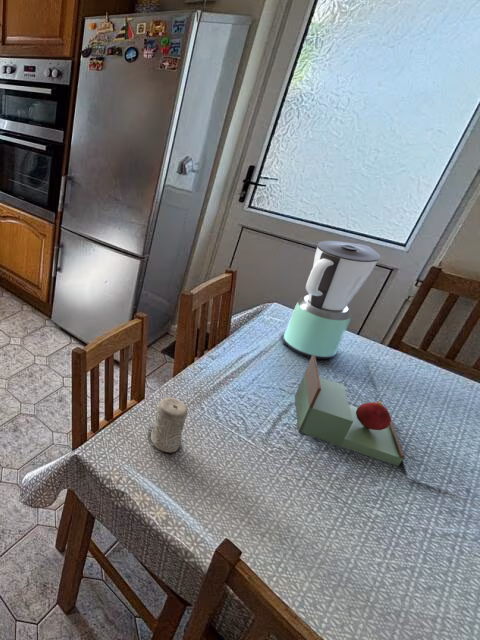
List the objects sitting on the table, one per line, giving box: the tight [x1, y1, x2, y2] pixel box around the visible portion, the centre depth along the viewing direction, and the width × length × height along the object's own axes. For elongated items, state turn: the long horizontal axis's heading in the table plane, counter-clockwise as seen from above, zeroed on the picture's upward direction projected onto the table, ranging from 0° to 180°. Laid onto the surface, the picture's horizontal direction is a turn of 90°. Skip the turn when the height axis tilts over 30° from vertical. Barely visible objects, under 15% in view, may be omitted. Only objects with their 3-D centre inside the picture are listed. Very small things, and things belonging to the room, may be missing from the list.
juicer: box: [282, 240, 381, 361], centre depth 121 cm, size 19×13×35 cm
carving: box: [150, 396, 188, 453], centre depth 95 cm, size 6×8×12 cm
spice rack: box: [294, 355, 405, 467], centre depth 98 cm, size 18×14×14 cm
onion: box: [356, 400, 392, 430], centre depth 96 cm, size 6×6×8 cm
